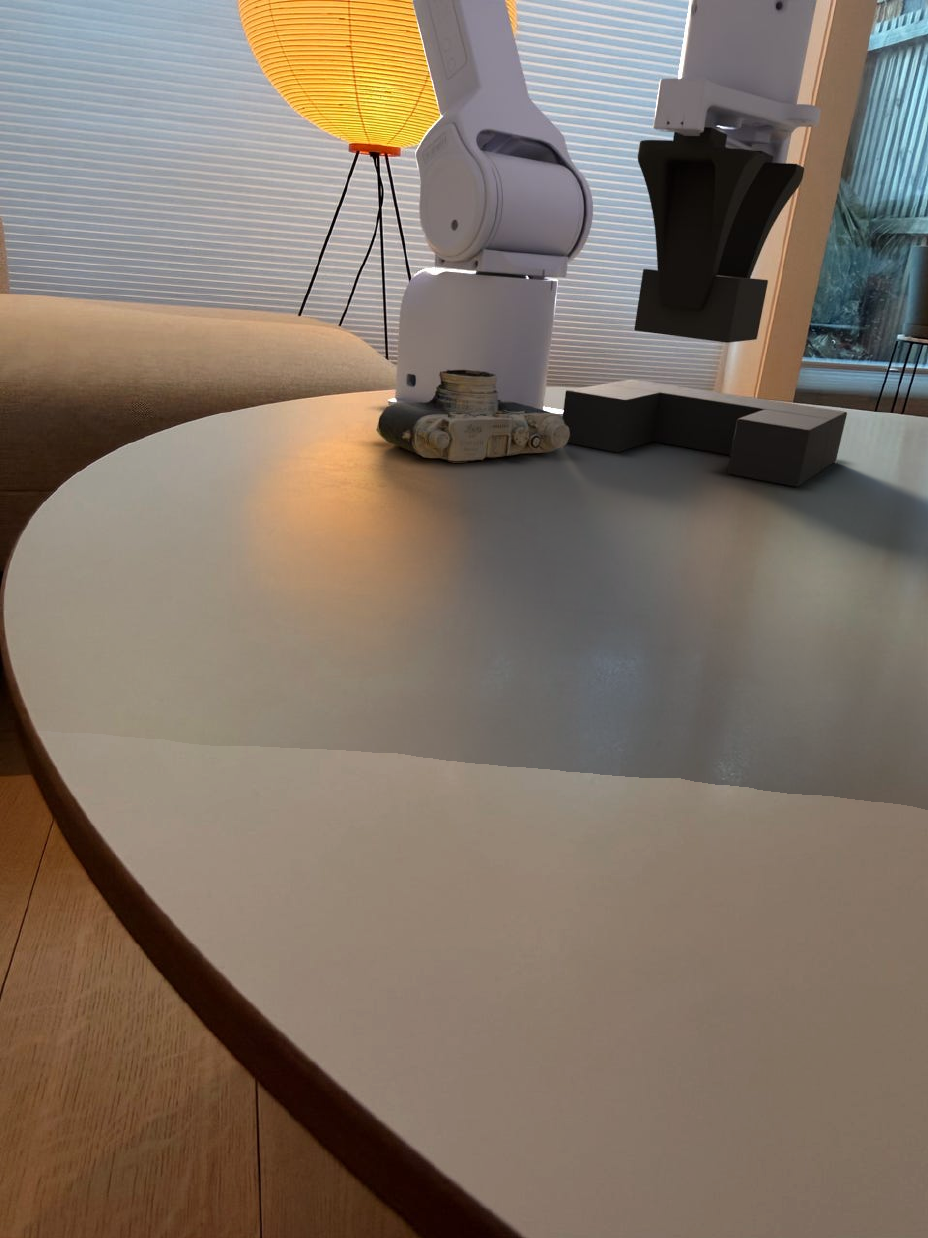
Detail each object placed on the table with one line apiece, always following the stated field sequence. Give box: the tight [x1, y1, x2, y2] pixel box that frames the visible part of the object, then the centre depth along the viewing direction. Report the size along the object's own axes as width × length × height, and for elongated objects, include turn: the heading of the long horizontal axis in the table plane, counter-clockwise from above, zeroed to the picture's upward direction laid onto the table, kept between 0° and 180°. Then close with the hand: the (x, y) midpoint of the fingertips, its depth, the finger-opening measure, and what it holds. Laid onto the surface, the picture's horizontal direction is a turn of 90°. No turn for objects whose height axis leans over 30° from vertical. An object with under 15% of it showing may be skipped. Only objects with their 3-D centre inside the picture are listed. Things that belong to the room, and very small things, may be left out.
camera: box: [375, 369, 570, 464], centre depth 50 cm, size 5×10×4 cm, turn 123°
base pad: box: [562, 378, 848, 488], centre depth 56 cm, size 14×10×3 cm
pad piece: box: [634, 268, 769, 344], centre depth 48 cm, size 5×5×3 cm
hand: (699, 307), depth 48 cm, fingers closed on pad piece, 5 cm apart
